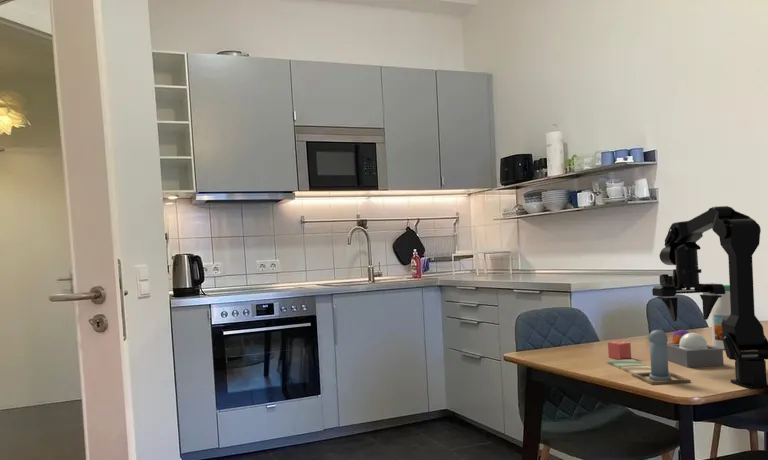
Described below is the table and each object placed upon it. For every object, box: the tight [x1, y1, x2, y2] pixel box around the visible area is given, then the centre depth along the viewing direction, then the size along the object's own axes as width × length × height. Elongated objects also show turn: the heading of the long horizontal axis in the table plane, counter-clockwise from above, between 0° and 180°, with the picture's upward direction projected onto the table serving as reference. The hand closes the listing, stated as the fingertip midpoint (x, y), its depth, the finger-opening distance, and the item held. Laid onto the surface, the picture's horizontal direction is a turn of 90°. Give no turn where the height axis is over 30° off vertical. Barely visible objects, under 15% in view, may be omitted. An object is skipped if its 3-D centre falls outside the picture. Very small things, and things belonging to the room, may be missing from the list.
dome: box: [679, 332, 708, 350], centre depth 163 cm, size 7×7×7 cm
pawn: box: [648, 329, 672, 381], centre depth 146 cm, size 5×5×12 cm
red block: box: [607, 340, 632, 360], centre depth 174 cm, size 4×4×5 cm
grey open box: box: [667, 343, 725, 368], centre depth 163 cm, size 10×10×4 cm
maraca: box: [667, 329, 690, 345], centre depth 181 cm, size 6×6×20 cm
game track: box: [605, 358, 691, 386], centre depth 154 cm, size 27×10×1 cm, turn 4°
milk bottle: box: [710, 284, 731, 350], centre depth 182 cm, size 8×8×20 cm
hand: (690, 320), depth 163 cm, fingers open, 9 cm apart
